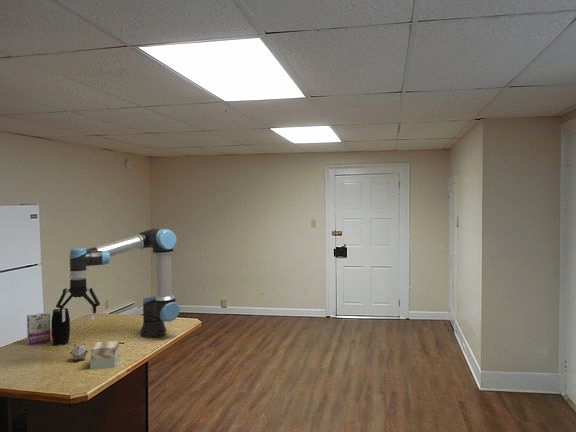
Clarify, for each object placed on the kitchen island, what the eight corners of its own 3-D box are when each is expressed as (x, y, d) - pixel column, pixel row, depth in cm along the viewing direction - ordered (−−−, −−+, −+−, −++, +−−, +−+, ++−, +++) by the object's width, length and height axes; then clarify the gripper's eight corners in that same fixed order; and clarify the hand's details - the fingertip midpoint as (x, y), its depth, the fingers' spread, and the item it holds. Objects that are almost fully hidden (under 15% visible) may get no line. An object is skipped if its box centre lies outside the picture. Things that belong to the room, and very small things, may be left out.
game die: (80, 368, 226) (79, 356, 220) (66, 361, 228) (64, 349, 222) (93, 355, 233) (91, 343, 227) (79, 348, 235) (77, 336, 229)
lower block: (118, 360, 227) (118, 350, 227) (114, 368, 216) (114, 357, 216) (95, 362, 225) (95, 352, 225) (90, 370, 214) (90, 359, 214)
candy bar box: (48, 340, 263) (48, 312, 262) (50, 341, 259) (50, 313, 259) (26, 343, 256) (26, 315, 255) (28, 345, 252) (28, 316, 251)
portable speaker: (48, 344, 254) (48, 310, 253) (64, 340, 261) (64, 307, 261) (57, 347, 249) (56, 312, 249) (73, 342, 257) (72, 308, 256)
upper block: (119, 350, 227) (119, 341, 227) (115, 357, 216) (114, 347, 216) (96, 352, 225) (95, 342, 225) (90, 359, 214) (90, 349, 214)
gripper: (105, 276, 233) (105, 317, 233) (53, 278, 228) (53, 320, 228) (103, 279, 226) (103, 321, 226) (49, 280, 220) (49, 323, 221)
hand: (78, 320), depth 227 cm, fingers open, 13 cm apart
